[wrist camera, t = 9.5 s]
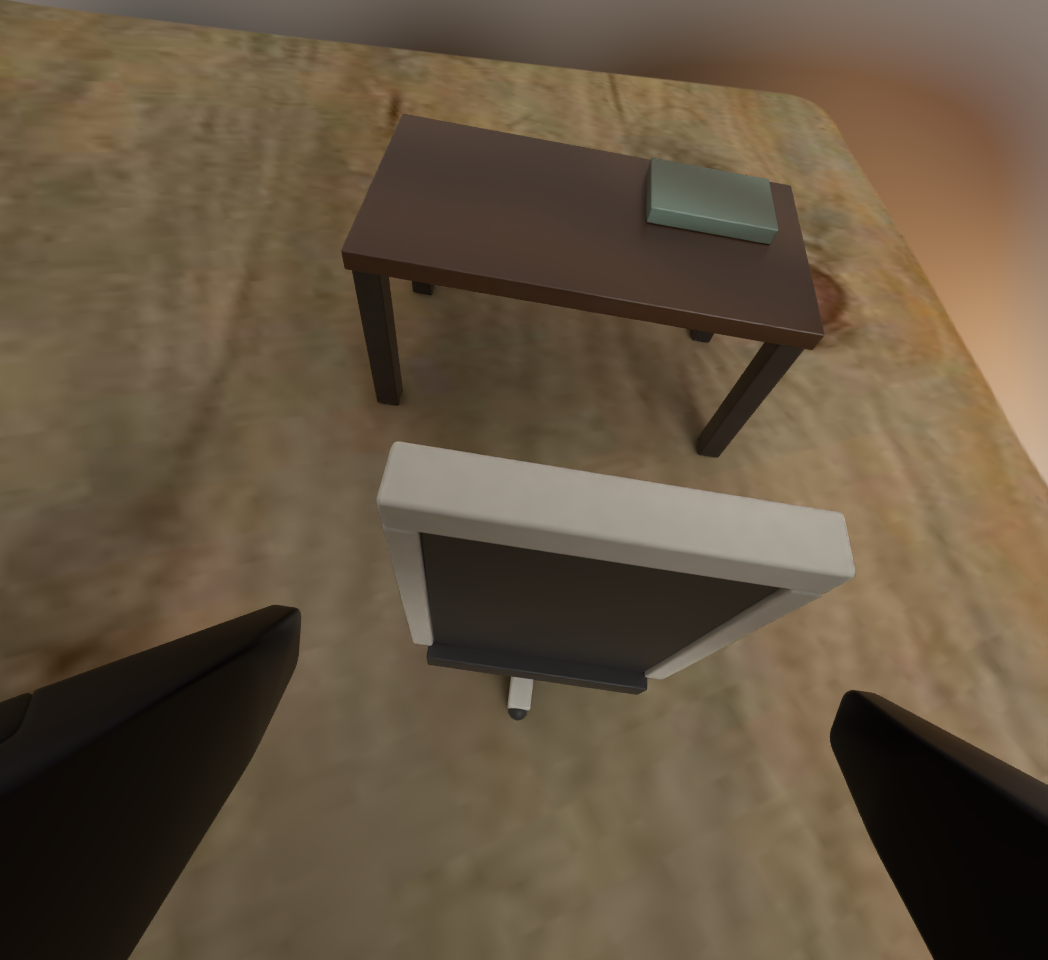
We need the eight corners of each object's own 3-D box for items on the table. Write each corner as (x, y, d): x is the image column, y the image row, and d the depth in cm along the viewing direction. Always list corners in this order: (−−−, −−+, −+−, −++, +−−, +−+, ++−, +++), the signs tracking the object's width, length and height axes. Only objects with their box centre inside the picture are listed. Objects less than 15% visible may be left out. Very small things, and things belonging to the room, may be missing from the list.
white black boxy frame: (626, 736, 17) (905, 652, 7) (403, 705, 17) (320, 564, 6) (630, 533, 21) (814, 267, 10) (446, 504, 21) (439, 200, 10)
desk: (721, 462, 23) (837, 320, 16) (372, 404, 23) (336, 232, 16) (711, 328, 27) (799, 169, 20) (414, 277, 27) (400, 94, 20)
